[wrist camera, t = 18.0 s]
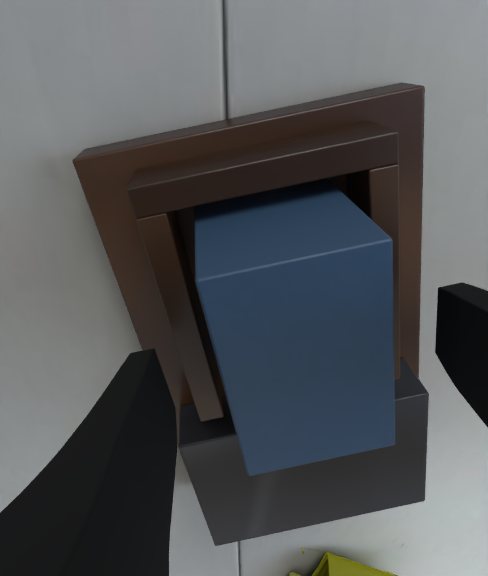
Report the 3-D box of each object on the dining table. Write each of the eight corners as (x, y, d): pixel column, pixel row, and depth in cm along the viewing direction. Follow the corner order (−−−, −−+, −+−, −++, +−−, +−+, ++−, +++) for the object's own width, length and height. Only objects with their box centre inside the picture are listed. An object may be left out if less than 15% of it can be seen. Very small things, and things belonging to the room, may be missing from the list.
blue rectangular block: (339, 337, 16) (396, 445, 11) (232, 360, 16) (247, 477, 11) (325, 175, 13) (393, 238, 9) (193, 203, 13) (194, 280, 8)
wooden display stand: (403, 440, 21) (439, 506, 18) (201, 483, 21) (203, 557, 18) (402, 81, 13) (465, 90, 10) (83, 149, 13) (50, 178, 10)
